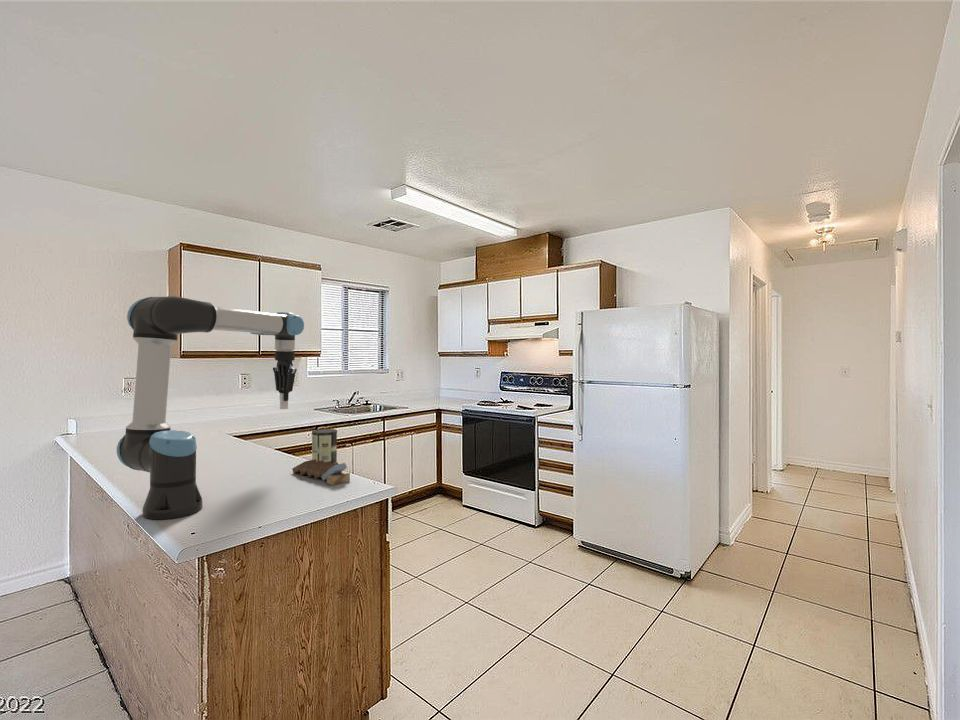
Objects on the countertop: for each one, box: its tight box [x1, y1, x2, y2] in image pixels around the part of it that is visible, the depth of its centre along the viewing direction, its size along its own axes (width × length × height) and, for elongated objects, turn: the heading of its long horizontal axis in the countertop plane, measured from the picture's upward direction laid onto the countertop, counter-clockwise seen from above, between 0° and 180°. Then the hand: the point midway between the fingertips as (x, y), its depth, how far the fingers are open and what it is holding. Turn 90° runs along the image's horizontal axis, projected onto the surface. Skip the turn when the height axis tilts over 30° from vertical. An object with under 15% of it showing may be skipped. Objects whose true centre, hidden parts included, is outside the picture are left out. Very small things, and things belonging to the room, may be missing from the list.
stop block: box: [326, 471, 351, 486], centre depth 179 cm, size 8×3×3 cm, turn 145°
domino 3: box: [306, 461, 332, 478], centre depth 185 cm, size 2×5×9 cm
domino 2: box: [299, 460, 324, 476], centre depth 187 cm, size 2×5×9 cm
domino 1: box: [291, 459, 317, 474], centre depth 190 cm, size 2×5×9 cm
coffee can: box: [311, 428, 338, 464], centre depth 207 cm, size 10×10×14 cm
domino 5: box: [321, 462, 348, 482], centre depth 180 cm, size 2×5×9 cm
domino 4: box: [313, 461, 339, 480], centre depth 182 cm, size 2×5×9 cm
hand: (283, 408), depth 197 cm, fingers closed
